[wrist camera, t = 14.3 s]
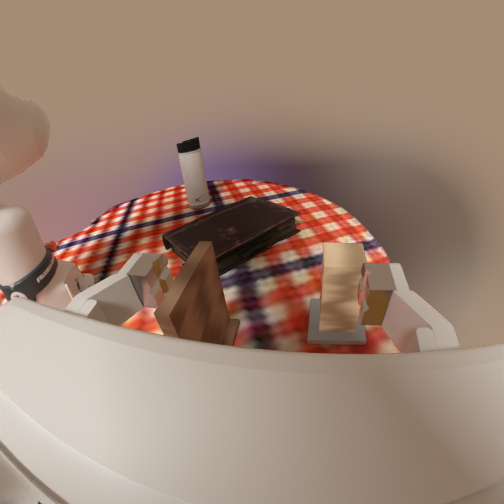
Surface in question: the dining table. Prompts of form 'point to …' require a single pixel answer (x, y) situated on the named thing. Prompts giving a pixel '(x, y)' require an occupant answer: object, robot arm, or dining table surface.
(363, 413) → the robot arm
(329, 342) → the slate coaster
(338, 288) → the tan boxy piece
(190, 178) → the travel mug
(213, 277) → the screen
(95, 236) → the dining table surface
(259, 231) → the diary
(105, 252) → the dining table surface
